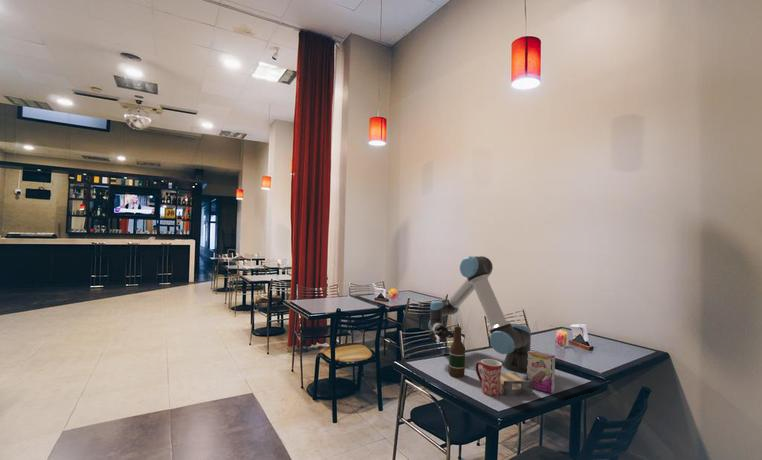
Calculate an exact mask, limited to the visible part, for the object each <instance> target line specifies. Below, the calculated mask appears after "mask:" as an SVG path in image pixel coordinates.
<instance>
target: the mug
mask: <svg viewBox="0 0 762 460" xmlns="http://www.w3.org/2000/svg"><path fill="white" fill-rule="evenodd" d="M479 365H480V366H481V373H480V370H479ZM502 365H503V363H502V362H501V361H499V360H496V359H493V358H492V359H491V358H484V359H481V360H480V361H477V362H476V363H475V373H476V376H477V377H478V380H479V382H480V384H481V392H482V393H483V394H484V395H487V396H490V397H497V396H499V395H500V391H499V388H500V377H501V373H502Z"/></svg>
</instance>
